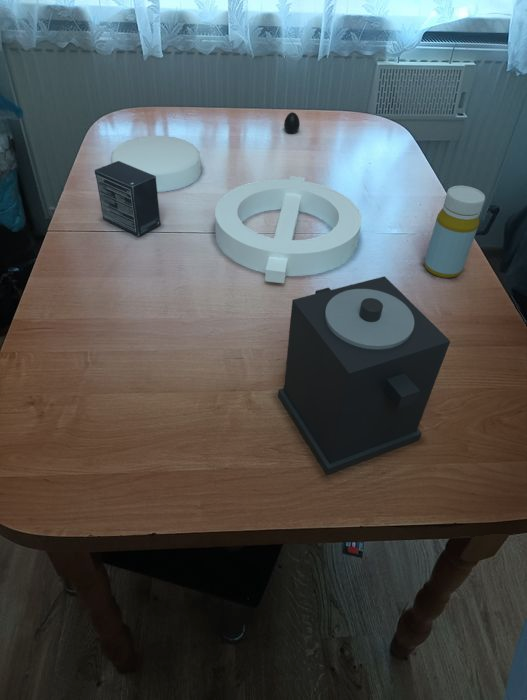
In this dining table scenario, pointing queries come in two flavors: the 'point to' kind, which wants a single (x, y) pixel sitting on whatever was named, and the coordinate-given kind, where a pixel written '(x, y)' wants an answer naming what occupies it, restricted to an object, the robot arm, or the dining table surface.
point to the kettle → (359, 371)
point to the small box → (128, 197)
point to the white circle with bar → (287, 228)
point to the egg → (291, 123)
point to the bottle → (454, 231)
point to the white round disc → (162, 160)
